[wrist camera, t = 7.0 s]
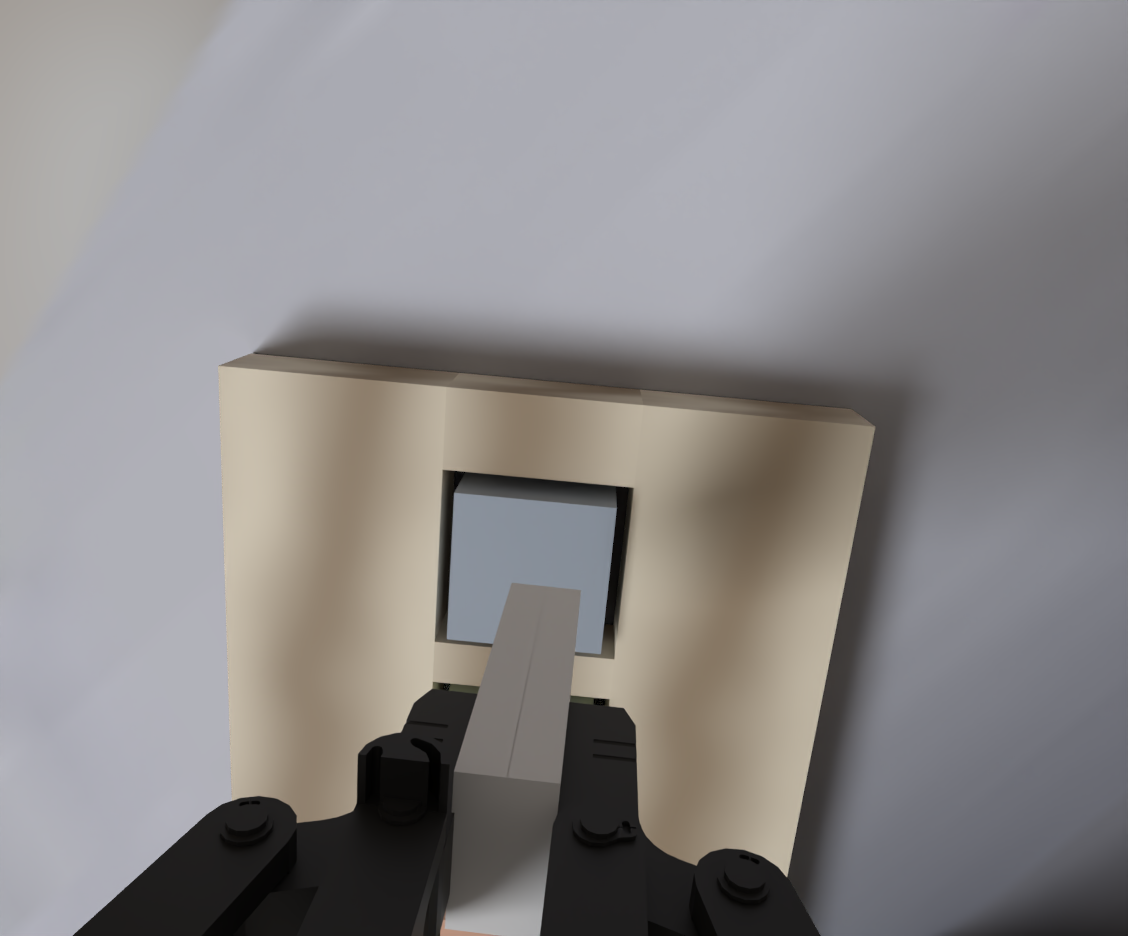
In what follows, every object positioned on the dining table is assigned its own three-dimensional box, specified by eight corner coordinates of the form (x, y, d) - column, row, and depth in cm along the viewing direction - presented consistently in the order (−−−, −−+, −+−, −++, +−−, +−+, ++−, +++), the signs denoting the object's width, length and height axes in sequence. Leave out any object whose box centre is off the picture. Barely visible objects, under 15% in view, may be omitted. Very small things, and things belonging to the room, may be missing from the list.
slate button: (615, 478, 23) (616, 508, 21) (601, 611, 24) (600, 654, 22) (469, 464, 23) (454, 492, 21) (462, 597, 24) (446, 638, 22)
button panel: (851, 409, 22) (875, 426, 20) (737, 1021, 28) (747, 1080, 26) (251, 353, 22) (218, 365, 21) (263, 972, 28) (238, 1026, 26)
